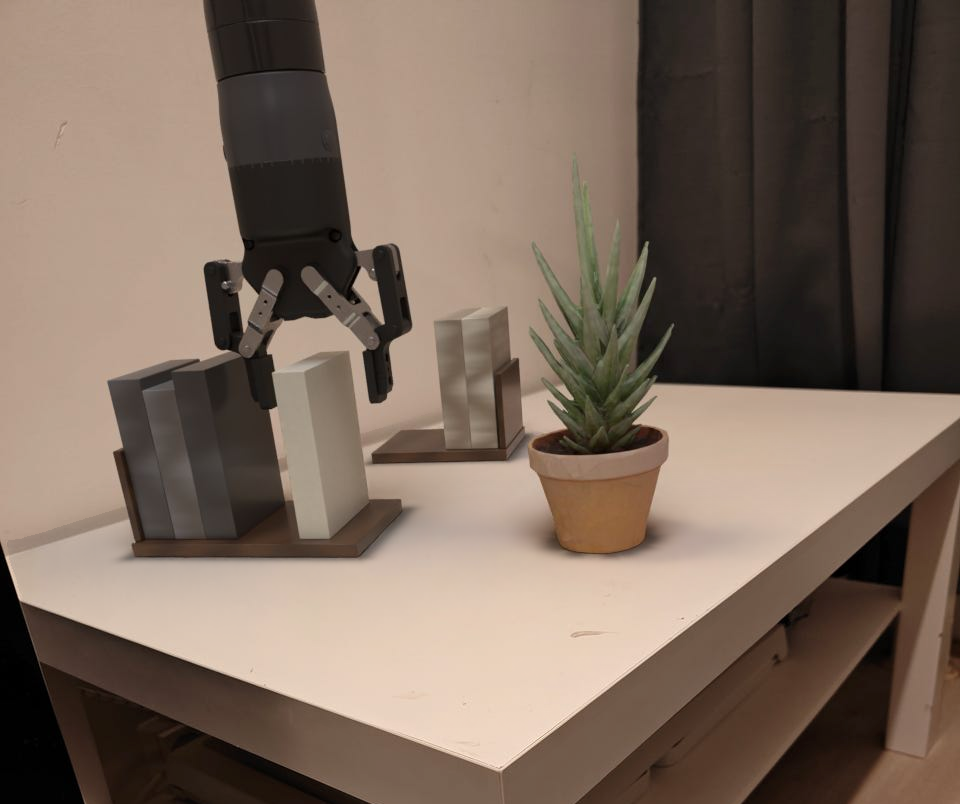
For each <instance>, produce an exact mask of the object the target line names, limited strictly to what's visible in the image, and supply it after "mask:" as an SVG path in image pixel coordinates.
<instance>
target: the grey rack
mask: <svg viewBox="0 0 960 804" xmlns="http://www.w3.org/2000/svg"><path fill="white" fill-rule="evenodd" d="M106 382H107V383H106V384H107V387H108V391H109V395H110V398H111V404H112V408H113V412H114V415H115V421H116V424H117V428H118V431H119V432H118V433H119V437H120V440H121V441H120V442H121V444H122V445H121V446H122V447H120V448H118V449H116V450H113V451H112V455H113V459H114V463H115V467H116V471H117V474H118V480H119V483H120V488H121V491H122V495H123V499H124V503H125V507H126V511H127V515H128V518H129V519H128V520H129V523H130V527H131V531H132V536H133V540H134V542H133V543H131V548H132V552H133V556H134V557H175V558H176V557H183V558H185V557H186V558H187V557H191V558H193V557H194V558H195V557H197V558H199V557H203V558H204V557H209V558H211V557H214V558H215V557H219V558H220V557H225V558H227V557H228V558H231V557H233V558H234V557H237V558H238V557H239V558H241V557H244V558H245V557H246V558H247V557H249V558H251V557H252V558H253V557H254V558H255V557H256V558H257V557H259V558H261V557H264V558H265V557H266V558H267V557H269V558H274V557H275V558H276V557H278V558H281V557H282V558H283V557H284V558H285V557H286V558H287V557H288V558H290V557H291V558H300V557H301V558H312V557H313V558H330V557H331V558H359V557H360V556H361V555H362V554H363V552H364V551H365V550H367V548H369V546H370V545H371V544H372V543H373V542H374V541H375V540H376V539H377V538H378V537H379V536H380V535H381V534H382V532H384V531H385V530H386V528H387V527H389V525H390V524H391V523H392V522H393V521H394V520H395V519H396V518H397V517H398V516H399V514H400V513H401V512H402V511H403V502H402V498H381V499H380V498H372V499H371V498H369V503H368V504H367V505H366V506H365V507H364V508H363V509H362V510H361V511H360V512H359V513H358V514H357V515H355V516H354V517H353V518H352V519H351V520H350V521H349V522H348V523H347V524H346V525H345V526H344V527H342V528H341V529H340V530H339V531H338V532H337V533H336V534H335V535H334V536H333V537H332V538H331V539H300V537H299V531H298V525H297V519H296V513H295V507H294V501H293V499H292V500H291V499H290V500H289V499H287V500H286V498H285V493H284V488H283V482H282V476H281V470H280V464H279V459H278V453H277V447H276V440H275V436H274V429H273V423H272V419H271V417H272V416H271V412H270V410H262V409H261V408H260V405H259V402H255V401H254V399H253V398H252V396H251V391H250V386H249V381H248V376H247V370H246V365H245V361H244V359H243V357H242V356H241V355H240V354H238V353H235V352H232V351H227V352H224V353H221V354H219V355H215V356H212V357H209V358H207V359H204V360H201V359H200V358H185V359H184V358H183V359H170V360H167V361H163V362H161V363H158V364H154V365H151V366H148V367H145V368H142V369H138V370H136V371H132V372H130V373H126V374H123V375H121V376H117V377H114V378H111V379H108V380H107V381H106Z"/></svg>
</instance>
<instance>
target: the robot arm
mask: <svg viewBox="0 0 960 804" xmlns="http://www.w3.org/2000/svg"><path fill="white" fill-rule="evenodd" d="M202 5H203V7H202V8H203V14H204V22H205V27H206V34H207V41H208V45H209V46H208V47H209V51H210V56H211V57H210V58H211V62H212V67H213V73H214V78H215V82H216V91H217V100H218V101H217V102H218V117H219V126H220V133H221V138H222V139H221V140H222V143H223V145H222V152H223V158H224V160H225V162H226V165H227V171H228V177H229V183H230V188H231V193H232V198H233V205H234V209H235V215H236V221H237V225H238V226H237V227H238V231H239V235H240V238H241V241H242V244H243V258H242V261H240V260H239V261H232V260H230V259H228V258H227V259H215V260H212V261H207V262H206V263H205V264H204V266H203V276H204V283H205V290H206V296H207V304H208V310H209V316H210V323H211V330H212V337H213V342H214V345H215V347H216V349H218V350H219V351H228V352H235V353H238V354H240V355H241V356H242V357H243V359H244V361H245V365H246V370H247V376H248V381H249V386H250V391H251V396H252V398H253V399H254V401H255V402H259V405H260V408H261V409H262V410H269V411H270V410H273V409H276V408H278V407H277V401H276V395H275V389H274V383H273V377H272V373H273V372H275V371H276V368H275V363H274V358H273V353H268V348H269V347H270V344H271V342H272V340H273V338H274V336H275V334H276V332H277V330H278V329H279V328H280V326H281V325H282V324H283V322H290V321H291V322H293V321H297V320H299V319H302V318H308V319H309V318H310V319H314V320H318V319H326V318H330V317H332V316H334V317H335V318H336V319H337V320H338V321H339V322H340V324H342V325H343V326H344V327H346V328H348V329H349V330H350V331H351V333H352V334H353V335H354V336H355V337H356V338H357V339H358V340H359V341H360V343H361V344H362V345H363V346H364V347H365V349H364V350H363V351H362V352H361V353H362V360H363V368H364V375H365V383H366V389H367V397H368V401H369V403H370V404H372V405H373V404H374V405H375V404H376V405H377V404H382V403H383V402H385V401H386V400H388V394H390V392H393V387H394V376H393V369H392V361H391V354H390V353H391V352H390V346H391V343H392V342H393V341H394V340H396V339H398V338H400V337H402V336H404V335H406V334H408V333H410V332H411V331H412V329H413V319H412V314H411V308H410V307H411V306H410V304H409V303H410V302H409V297H408V291H407V285H406V284H407V283H406V277H405V273H404V268H403V261H402V255H401V251H400V247H399V246H398V245H397V244H395V243H393V242H392V243H391V242H390V243H385V244H379V245H376V246H375V247H373V248H369V249H363V250H359V249H358V247H357V245H356V244H355V241H354V239H353V236H352V226H351V225H352V224H351V218H350V217H351V216H350V209H349V202H348V195H347V188H346V180H345V174H344V165H343V158H342V151H341V143H340V136H339V130H338V123H337V116H336V111H335V107H334V102H333V99H332V95H331V91H330V88H329V83H328V77H327V75H326V73H327V71H326V64H325V56H324V50H323V42H322V36H321V35H322V34H321V28H320V21H319V16H318V10H317V4H316V0H202ZM362 268H364V270H365V271H366V272H367V275H368V277H369V279H370V280H371V281H373V282H376V284H377V289H378V294H379V295H378V296H379V300H380V305H381V311H382V316H383V322H384V323H382V322H381V321H380V320H379V319H378V318H377V316H376V315H375V314H374V313H373V310H372V308H371V306H370V305H369V303H367V301H366V300H365V298H363V297H362V295H360V293H359V292H358V291H357V290H356V288H355V287H354V284H355V282H356V281H357V278H358V275H359V274H360V272H361V269H362ZM244 279H245V281H246V282H247V283H248V285H249V286H250V287H251V288H252V289H253V290H254V292H255V293H256V294H257V295H258V296H257V298H256V300H255V303H254V305H253V307H252V310H251V312H250V314H249V315H248V318H247V326H246V328H245V330H244V324H243V319H242V310H241V303H240V297H239V295H240V294H239V292H240V291H241V290H242V289H243V281H244Z"/></svg>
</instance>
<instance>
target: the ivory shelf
mask: <svg viewBox="0 0 960 804" xmlns="http://www.w3.org/2000/svg"><path fill="white" fill-rule="evenodd" d="M433 329H434V341H435V348H436V360H437V361H436V362H437V371H438V381H439V393H440V402H441V404H440V405H441V412H442V423H443V428H424V429H423V428H422V429H420V428H419V429H400V430H399V431H398V432H397V433H395V434H394V435H392V437H390V438H389V439H388V440H387V441H385V442H383V443H382V444H381V445H380V446H379V447H377V448H376V449H375V450H374V451H372V452H371V462H372V464H391V463H395V464H396V463H432V462H433V463H436V462H475V461H477V462H481V461H482V462H483V461H507V460H508V459H509V457H510V456H511V455H512V454H513V452H515V449H516V448H517V447H518V445H520V443H521V441H522V440H523V439H524V437H525V436H526V427H525V426H524V421H523V403H522V402H523V401H522V387H521V371H520V358H519V357H513V358H512V354H511V353H512V352H511V340H510V323H509V309H508V306H507V305H504V306H502V305H501V306H500V305H499V306H486V307H484V306H483V307H471V308H457V309H455V310H453V311H451V312H449V313H447V314H444V315H442V316H440V317H438V318H436V319H434V320H433Z"/></svg>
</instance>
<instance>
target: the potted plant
mask: <svg viewBox="0 0 960 804" xmlns="http://www.w3.org/2000/svg"><path fill="white" fill-rule="evenodd" d="M572 155H573V157H572V163H571V164H572V166H571V167H572V169H571V170H572V173H571V175H572V177H571V179H572V180H571V181H572V195H573V199H572V201H573V202H572V203H573V213H574V225H575V231H576V243H577V253H578V260H579V270H580V276H579V306H578V305H576V304H575V303H574V302H573V301H572V299H571V298H570V297H569V295H568V294H567V293H566V291H565V290H564V288H563V287H562V286H561V284H560V282H559V280H558V279H557V277H556V275H555V274H554V272H553V270H552V269H551V266H549V263H548V262H547V260H546V259H545V257H544V255H543V253H542V252H541V251H540V249H539V248H538V246H537V245H536V243H535V242H534V240H531V248H532V251H533V254H534V257H535V260H536V263H537V266H538V267H539V268H540V271H541V273H542V276H543V277H544V279H545V283H546V284H547V285H548V288H549V290H550V292H551V295H552V296H553V299H554V301H555V303H556V305H557V307H558V309H559V312H560V313H561V315H562V316H563V319H564V320H565V322H566V324H567V326H568V327H569V329H570V331H571V333H572V335H573V337H574V339H573V338H572V337H571V336H570V335H569V334H568V333H567V332H566V331H565V330H564V329H563V328H562V326H561V325H560V324H559V323H558V322H557V320H556V318H555V317H554V316H553V315H552V313H551V312H550V311H549V309H548V308H547V306H546V305H545V304H544V302H543V301H542V299H540V298H539V297H537V301H538V306H539V308H540V311H541V313H542V316H543V318H544V320H545V322H546V324H547V326H548V328H549V330H550V332H551V333H552V335H553V337H554V339H553V345H554V346H555V349H556V350H557V352H558V354H559V355H560V357H561V358H560V359H559V361H558V360H557V358H556V357H555V356H554V354H553V353H552V351H551V350H550V348H549V347H548V345H547V344H546V343H545V342H544V340H543V339H542V337H540V336H539V334H538V333H536V331H535V330H534V329H533V328H532V327H531V326H530V325H529V326H528V334H529V336H530V338H531V340H532V341H533V343H534V344H535V346H536V347H537V349H538V351H539V352H540V353H541V355H542V356H543V358H544V359H545V360H546V362H547V364H548V365H549V366H550V368H551V369H552V371H553V372H554V373H555V374H556V376H557V377H558V378H559V379H560V381H561V382H562V383H563V384H564V387H565V388H566V390H567V391H568V393H569V394H570V395H571V397H572V398H573V399H569V398H568V397H567V396H565V394H563V393H562V392H561V391H560V390H559V389H558V388H556V387H555V386H554V385H553V384H551V382H550V381H549V380H547V378H545V377H543V376H542V377H541V378H540V380H541V382H542V383H543V385H544V386H545V388H546V389H547V390H548V391H549V392H550V393H551V394H552V397H554V398H555V399H556V400H557V401H558V402H559V403H560V404H561V406H562V407H563V408H564V409H563V408H562V409H561V408H559V406H557V405H556V404H555V403H554V402H553V401H552V400H549V399H547V400H546V402H547V404H548V406H549V408H551V410H552V412H553V413H554V414H555V415H556V417H557V418H558V419H559V420H560V421H561V423H562V424H563V425H564V426H565V427H566V428H561V429H557V430H553V431H549V432H546V433H542V434H539V435H537V436H535V437H533V438H532V439H530V440H529V441H528V443H527V452H528V461H529V467H530V469H531V470H532V471H534V472H535V473H536V475H537V477H538V478H539V481H540V484H541V487H542V490H543V493H544V495H545V498H546V501H547V505H548V507H549V510H550V513H551V517H552V520H553V524H554V528H555V532H556V536H557V540H558V542H559V544H560V546H561V547H562V548H563V549H566V550H569V551H573V552H577V553H588V554H589V553H590V554H591V553H592V554H611V553H617V552H623V551H626V550H630V549H634V548H636V547H637V546H638V545H640V544H641V543H642V542H644V541H645V536H646V530H647V523H648V519H649V515H650V511H651V508H652V503H653V500H654V495H655V491H656V488H657V483H658V479H659V475H660V471H661V468H662V466H663V465H664V464H665V462H666V461H667V460H668V458H669V451H670V447H669V446H670V437H669V434H668V431H667V430H665V429H664V428H660V427H658V426H653V425H648V424H642V423H639V424H638V423H636V424H635V423H634V422H635V421H637V419H639V418H640V417H641V416H642V414H643V413H645V412H646V411H647V409H648V408H649V407H650V406H651V404H653V402H654V401H655V400H656V399H657V398H658V395H654V396H653V397H652V398H650V399H649V400H647V401H646V402H645V403H643V404H642V405H641V406H639V407H638V405H639V403H641V402H642V400H643V399H644V398H645V396H646V395H647V394H648V392H649V391H650V389H651V388H652V387H653V385H654V384H655V382H656V380H657V378H658V375H655V374H654V375H653V376H651V378H648V376H649V374H650V372H651V371H652V369H653V367H654V366H655V364H656V363H657V361H658V360H659V358H660V357H661V354H662V353H663V351H664V348H665V347H666V345H667V343H668V341H669V340H670V337H671V336H672V330H673V329H674V327H675V324H674V323H671V324H670V326H669V327H668V329H667V330H666V332H665V333H664V335H663V336H662V338H661V339H660V342H659V343H657V346H656V347H655V348H654V350H653V351H652V352H651V354H650V355H649V356H648V357H647V358H646V359H645V360H643V361H642V362H641V363H640V364H639V365H638V366H637V367H636V368H634V369H633V370H632V371H631V372H629V368H630V366H629V363H630V360H631V357H632V354H633V351H634V349H635V346H636V344H637V341H638V337H639V335H640V332H641V329H642V327H643V323H644V321H645V318H646V315H647V313H648V309H649V306H650V304H651V300H652V297H653V295H654V291H655V288H656V283H657V277H656V276H654V277H653V278H652V280H651V282H650V284H649V286H648V288H647V289H646V292H645V293H644V295H643V298H642V300H641V302H640V304H639V306H638V308H637V309H636V306H637V302H638V300H639V297H640V296H639V295H640V291H641V289H642V284H643V281H644V278H645V273H646V269H647V268H646V267H647V261H648V255H649V249H648V247H649V244H650V242H649V241H645V243H644V245H643V248H642V251H641V253H640V256H639V258H638V260H637V263H636V265H635V267H634V269H633V271H632V273H631V275H630V276H629V277H630V278H629V279H628V281H627V284H626V285H625V287H624V289H623V291H622V293H621V295H620V297H619V299H618V291H619V290H618V289H619V280H620V264H621V239H622V238H621V235H622V234H621V219H620V216H619V217H617V218H616V221H615V222H616V224H615V228H614V231H613V235H612V236H613V237H612V242H611V246H610V253H609V256H608V261H607V266H606V271H605V272H606V273H605V277H604V282H603V286H602V279H601V270H600V262H599V261H600V260H599V254H598V250H597V246H596V238H595V237H596V236H595V231H594V229H595V228H594V222H593V215H592V207H591V200H590V194H589V190H588V185H587V181H586V180H584V181H583V183H582V189H581V183H580V174H579V165H578V162H577V154H576V151H573V154H572ZM581 190H582V192H581ZM635 309H636V312H635ZM634 312H635V314H634ZM633 315H634V316H633ZM628 372H629V373H628ZM637 407H638V408H637Z"/></svg>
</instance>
